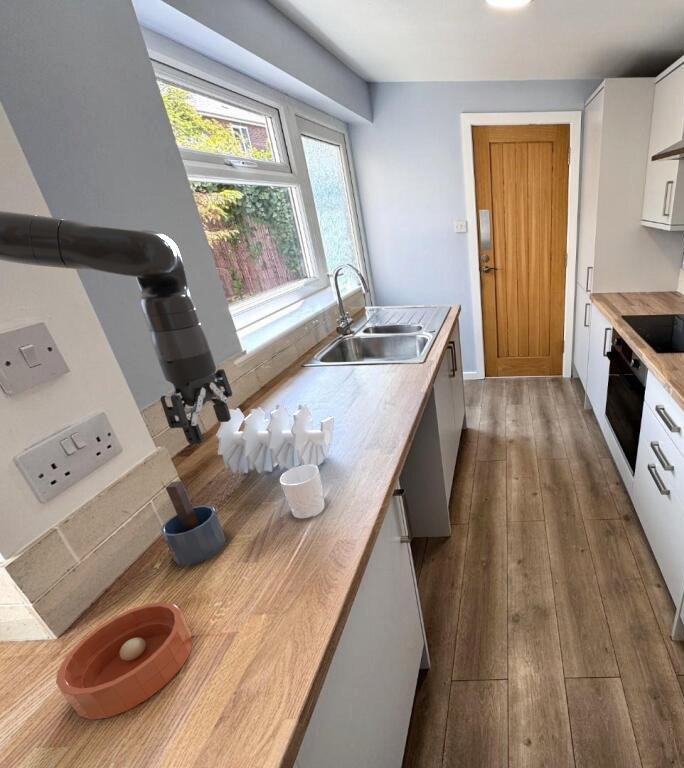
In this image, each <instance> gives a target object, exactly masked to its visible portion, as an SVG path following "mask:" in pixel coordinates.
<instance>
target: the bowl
mask: <svg viewBox="0 0 684 768" xmlns="http://www.w3.org/2000/svg"><path fill="white" fill-rule="evenodd" d="M137 637H138V638H142V639H144V640H145V642H146V648H145V650H144V652H143V653H142V654H141V655H140V656H139V657H138V658H136V659H134V660H130V661H126V660H123V659H122V658H121V657H120V654H119V653H120V649H121V647H122V646H123V644H124V643H125V642H127V641H128V640H130V639H132V638H137ZM193 644H194V640H193V634H192V630H191V629H190V626H189V625H188V623H187V621H186V619H185V617H184V614H183V612H182V610H181V609H180V608H179V607H178V606H177V605H176V604H174V603H171V602H164V601H160V602H151V603H145V604H143V605H139V606H136V607H133V608H130V609H129V610H126V611H124V612H122V613H120V614H118V615H115V616H113V617H112V618H110V619H109V620H107V621H105V622H104V623H102V624H101V625H99V626H97V627H96V628H94V629H93V630H92V631H91V632H90V633H88V634H87V635H86V636H85V637H84V638H82V639H81V640H80V641H79V642H78V643H77V644H76V645H75V646H74V647H73V648H72V650H70V652H69V653H68V654H67V655H66V656H65V657H64V659H63V661H62V662H61V665H60V666H59V668H58V669H57V673H56V679H55V680H56V681H55V684H56V686H57V688H58V689H59V691H60V693H62V695H63V696H64V698H65V699H66V701H67V702H68V703H69V705H70V707H72V709H73V710H74V711H75V713H76V714H77V715H78V716H79V717H82V718H85V719H88V720H100V719H108V718H111V717H114V716H116V715H119V714H122V713H125V712H127V711H129V710H131V709H133V708H134V707H136V706H138V705H139V704H141V703H143V702H145V701H146V700H148V699H150V698H151V697H152V696H154V695H155V694H156V693H157V692H158V691H160V690H161V689H163V687H164V686H166V685H167V684H168V683H169V682H170V681H171V680H172V678H174V677H175V675H176V674H177V673H178V672H179V671H180V670H181V669H182V667H183V665H184V664H185V663H186V661H187V659H189V658H188V657H189V656H190V654H191V650H192V647H193Z"/></svg>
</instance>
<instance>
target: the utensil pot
mask: <svg viewBox="0 0 684 768" xmlns="http://www.w3.org/2000/svg"><path fill="white" fill-rule="evenodd" d="M192 508H193V510H194V513H195V515H196V517H197V520H198V522H199V525H200V526H198V527H196V528H194V529H192V530H190V531H187V532H185V531H184V529H183V526H182V524H181V522H180V520H179V517H178V515H177V513H175V514H174V515H172V516H171V517H170V518H168V519H167V520H166V521H165V522H164V523H163V524H162V527H161V529H160V531H161V534H162V537H163V539H164V541H165V543H166V545H167V547H168V549H169V551H170V553H171V556H172V558H173V560H174V562H175V563H176V564H178V565H182V566H189V565H195V564H198V563H201V562H203V561H206V560H208V559H209V558H211V557H212V556H214V555H216V554H217V553H218V552H220V550H221V549H222V548H223V547H224V545H225V543H226V541H227V537H226V535H225V533H224V530H223V527H222V525H221V523H220V520H219V517H218V515H217V512H216V510H215V508H214V507H213V506H211V505H198V506H192Z"/></svg>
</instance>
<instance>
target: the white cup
mask: <svg viewBox="0 0 684 768" xmlns="http://www.w3.org/2000/svg"><path fill="white" fill-rule="evenodd" d="M279 483H280V486H281V488H282V491H283V494H284V496H285V499H286V502H287V504H288V506H289V509H290V511H291V514H292V516H294V518H295V519H308V518H311V517H313V518H314V517H316V516H318V515H319V514H320V513H322V511H324V509H325V500H324V499H325V498H324V491H323V486H322V480H321V475H320V470H319V467H318V466H317V467H316V466H315V465H303V464H299V465H297V466H295V467H293V468H291V469H289V470H288V469H287V470H286V471H285V472H283V473H282V475H280V477H279Z"/></svg>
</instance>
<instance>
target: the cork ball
mask: <svg viewBox="0 0 684 768" xmlns="http://www.w3.org/2000/svg"><path fill="white" fill-rule="evenodd" d="M145 648H146V642H145V640H144V639H142V638H138V637H137V638H132V639H130V640H128V641H127V642H125V643H124V644H123V646H122V647H121V649H120V653H119V654H120V657H121V658H122V659H123V660H126V661H130V660H134V659H136V658H138V657H139V656H140V655H141V654H142V653H143V652H144V650H145Z"/></svg>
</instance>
